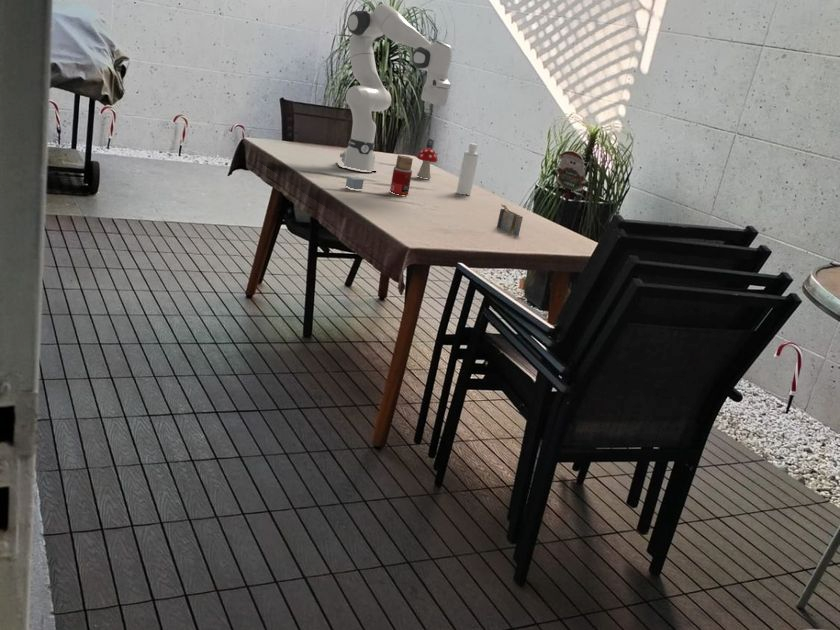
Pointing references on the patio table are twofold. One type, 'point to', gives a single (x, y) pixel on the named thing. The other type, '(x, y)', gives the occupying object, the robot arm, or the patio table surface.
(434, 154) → the decorative mushroom
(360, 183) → the grey block
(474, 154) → the white bottle
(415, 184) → the patio table surface
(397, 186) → the canned food
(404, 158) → the walnut block
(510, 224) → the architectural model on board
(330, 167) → the patio table surface
